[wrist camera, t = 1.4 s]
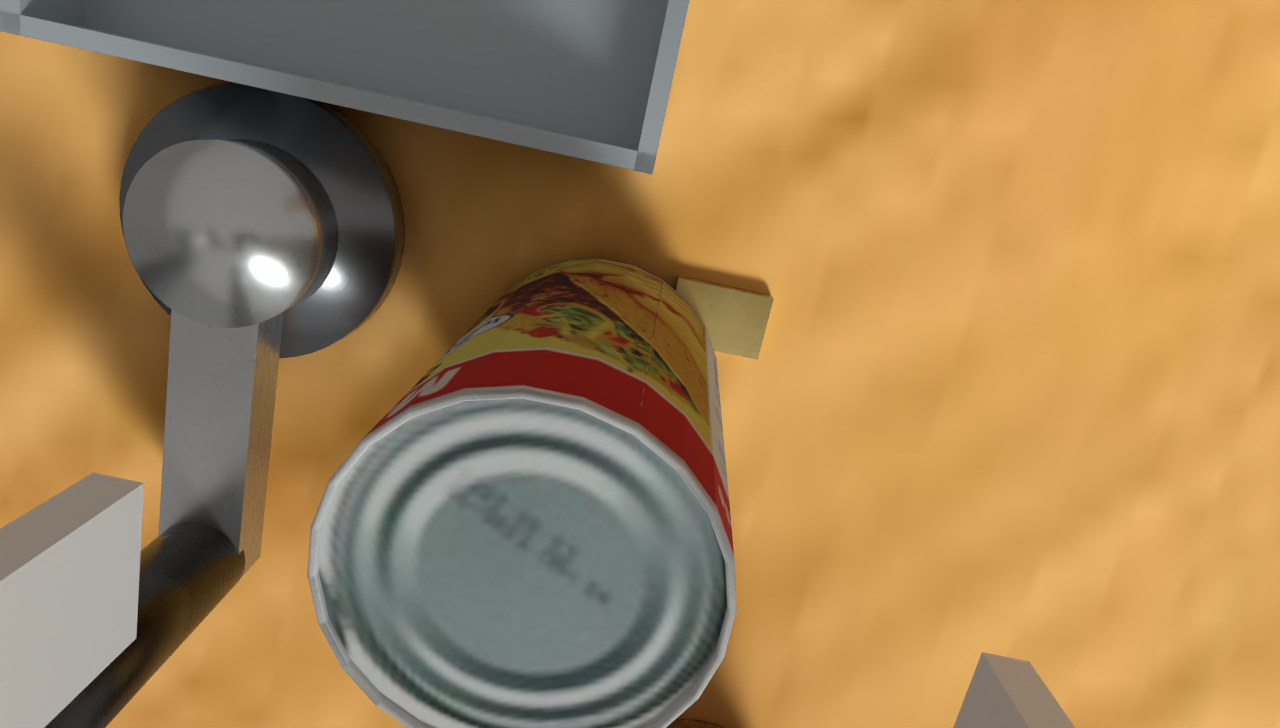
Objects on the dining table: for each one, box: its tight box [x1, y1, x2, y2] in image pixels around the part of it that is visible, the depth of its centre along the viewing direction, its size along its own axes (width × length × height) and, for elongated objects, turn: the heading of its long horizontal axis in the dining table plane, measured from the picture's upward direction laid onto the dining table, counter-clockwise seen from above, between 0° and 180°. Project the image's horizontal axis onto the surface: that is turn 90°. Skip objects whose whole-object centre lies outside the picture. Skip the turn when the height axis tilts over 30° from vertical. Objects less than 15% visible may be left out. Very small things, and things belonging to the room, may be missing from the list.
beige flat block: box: [675, 276, 774, 360], centre depth 26 cm, size 3×2×1 cm, turn 78°
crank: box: [44, 139, 338, 728], centre depth 20 cm, size 14×5×10 cm, turn 168°
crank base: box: [120, 84, 405, 358], centre depth 25 cm, size 8×8×1 cm
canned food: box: [308, 258, 737, 728], centre depth 21 cm, size 8×8×12 cm
